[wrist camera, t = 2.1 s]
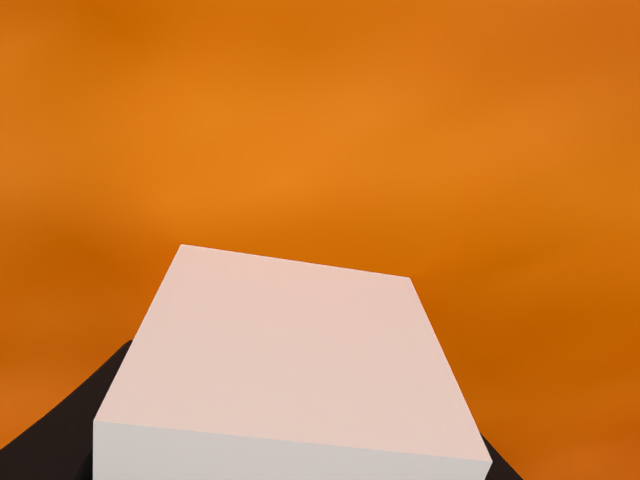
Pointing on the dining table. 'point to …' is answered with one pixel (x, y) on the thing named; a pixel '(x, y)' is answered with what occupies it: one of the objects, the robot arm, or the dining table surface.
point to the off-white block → (284, 380)
